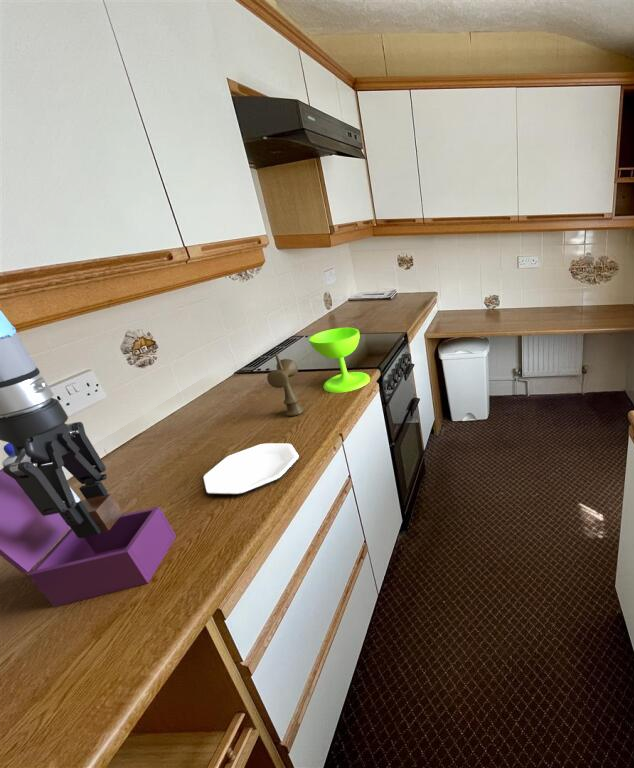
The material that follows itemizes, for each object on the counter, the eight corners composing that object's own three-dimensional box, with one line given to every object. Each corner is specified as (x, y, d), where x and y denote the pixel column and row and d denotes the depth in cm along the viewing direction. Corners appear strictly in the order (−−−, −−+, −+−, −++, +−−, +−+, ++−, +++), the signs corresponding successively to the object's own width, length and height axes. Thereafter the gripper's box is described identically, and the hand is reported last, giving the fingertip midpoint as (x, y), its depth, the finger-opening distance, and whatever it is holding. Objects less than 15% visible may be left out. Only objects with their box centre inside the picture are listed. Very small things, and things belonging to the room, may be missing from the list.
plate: (202, 470, 102) (200, 465, 101) (287, 439, 113) (285, 434, 112) (212, 511, 88) (209, 505, 87) (307, 471, 99) (305, 466, 98)
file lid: (13, 462, 68) (7, 464, 68) (-50, 508, 58) (-57, 510, 58) (75, 521, 75) (70, 523, 75) (28, 572, 65) (23, 574, 65)
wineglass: (355, 393, 137) (343, 343, 129) (313, 392, 140) (298, 343, 132) (378, 373, 151) (367, 327, 143) (339, 373, 154) (327, 327, 146)
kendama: (310, 404, 131) (292, 346, 123) (301, 419, 123) (281, 358, 114) (290, 407, 130) (271, 349, 122) (280, 422, 122) (258, 360, 113)
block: (109, 530, 70) (95, 510, 68) (77, 537, 68) (63, 517, 67) (123, 512, 73) (111, 493, 72) (93, 519, 72) (80, 500, 70)
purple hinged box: (176, 536, 82) (159, 506, 78) (148, 583, 72) (127, 551, 68) (95, 554, 79) (74, 524, 75) (54, 607, 68) (27, 575, 65)
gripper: (5, 431, 54) (95, 556, 64) (87, 379, 69) (149, 487, 79) (-67, 443, 52) (36, 570, 62) (33, 388, 67) (103, 497, 78)
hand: (99, 523), depth 71 cm, fingers closed on block, 4 cm apart
